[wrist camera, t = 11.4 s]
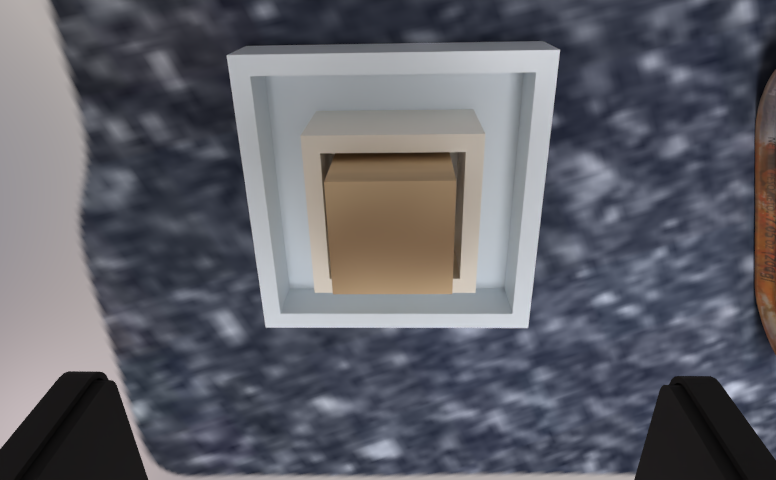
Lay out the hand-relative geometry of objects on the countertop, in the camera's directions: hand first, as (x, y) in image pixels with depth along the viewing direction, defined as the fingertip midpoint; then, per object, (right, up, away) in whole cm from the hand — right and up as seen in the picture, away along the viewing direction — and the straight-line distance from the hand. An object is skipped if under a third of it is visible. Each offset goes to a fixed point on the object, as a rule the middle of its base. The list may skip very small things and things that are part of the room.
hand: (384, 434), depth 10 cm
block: (0, +5, +12) cm, 13 cm away
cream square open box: (0, +6, +12) cm, 14 cm away
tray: (0, +6, +13) cm, 14 cm away
